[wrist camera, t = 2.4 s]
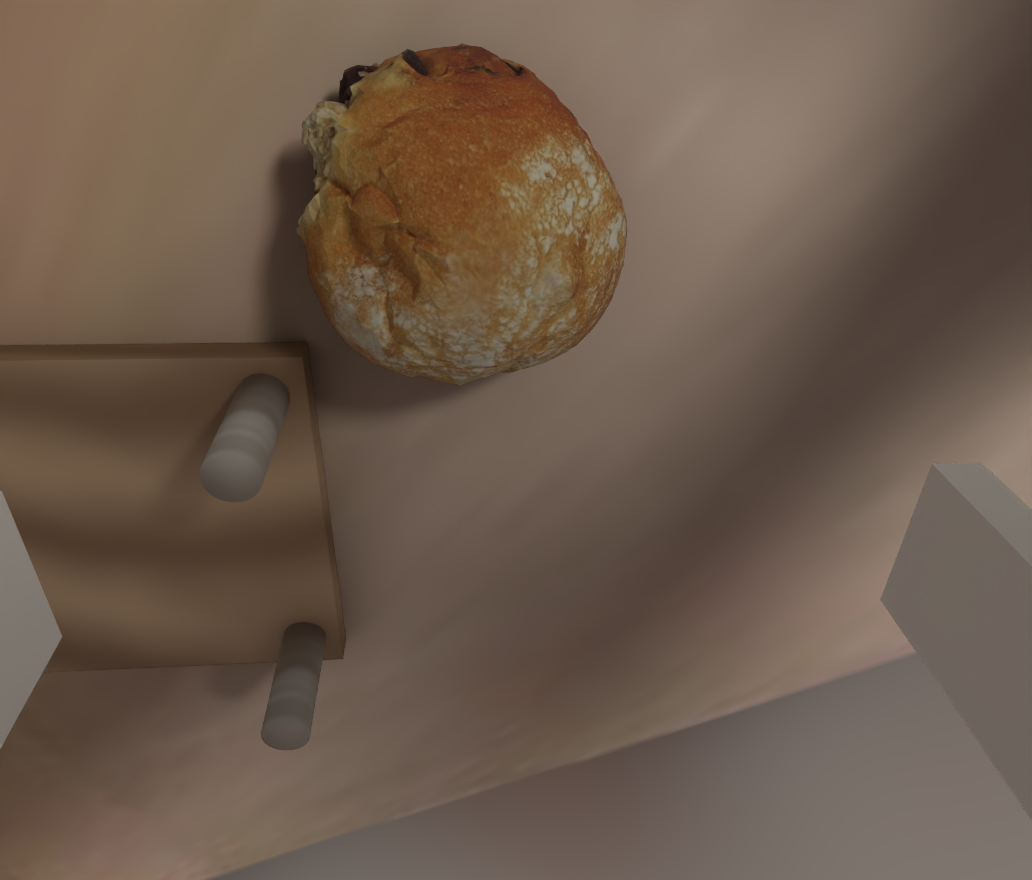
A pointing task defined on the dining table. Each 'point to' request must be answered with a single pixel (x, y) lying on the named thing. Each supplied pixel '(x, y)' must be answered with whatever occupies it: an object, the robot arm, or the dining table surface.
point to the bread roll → (458, 216)
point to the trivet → (177, 510)
